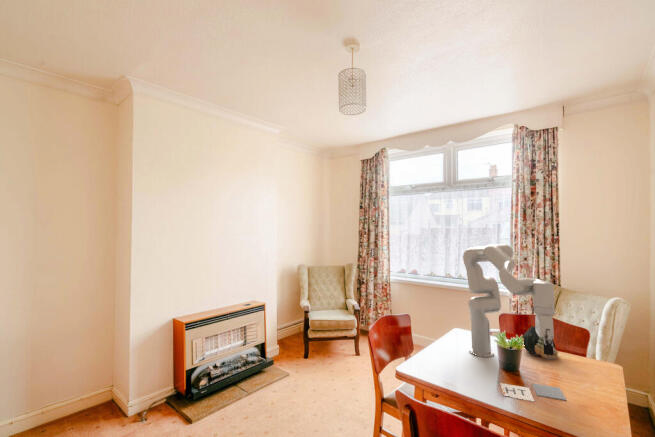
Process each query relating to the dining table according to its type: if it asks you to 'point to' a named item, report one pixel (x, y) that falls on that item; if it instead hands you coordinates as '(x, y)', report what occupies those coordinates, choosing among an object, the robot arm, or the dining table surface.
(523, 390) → the tile
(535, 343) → the squash
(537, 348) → the ornament
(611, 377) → the dining table surface
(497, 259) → the robot arm
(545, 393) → the grey mat
